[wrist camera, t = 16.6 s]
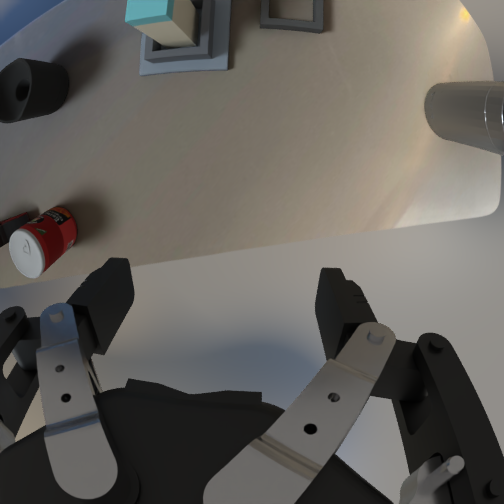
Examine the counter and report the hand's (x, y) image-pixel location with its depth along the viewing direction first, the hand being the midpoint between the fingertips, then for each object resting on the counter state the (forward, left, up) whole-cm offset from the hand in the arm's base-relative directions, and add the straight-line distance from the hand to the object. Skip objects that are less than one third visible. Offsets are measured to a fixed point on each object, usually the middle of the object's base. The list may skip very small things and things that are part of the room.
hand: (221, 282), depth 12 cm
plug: (+9, -19, -29) cm, 36 cm away
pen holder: (+32, -14, -30) cm, 46 cm away
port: (+9, -19, -30) cm, 37 cm away
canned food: (+32, +10, -30) cm, 45 cm away
